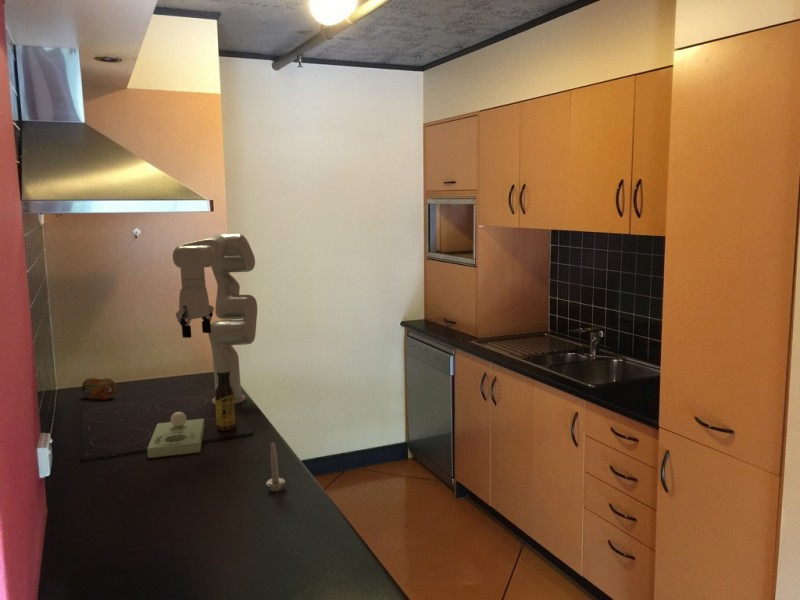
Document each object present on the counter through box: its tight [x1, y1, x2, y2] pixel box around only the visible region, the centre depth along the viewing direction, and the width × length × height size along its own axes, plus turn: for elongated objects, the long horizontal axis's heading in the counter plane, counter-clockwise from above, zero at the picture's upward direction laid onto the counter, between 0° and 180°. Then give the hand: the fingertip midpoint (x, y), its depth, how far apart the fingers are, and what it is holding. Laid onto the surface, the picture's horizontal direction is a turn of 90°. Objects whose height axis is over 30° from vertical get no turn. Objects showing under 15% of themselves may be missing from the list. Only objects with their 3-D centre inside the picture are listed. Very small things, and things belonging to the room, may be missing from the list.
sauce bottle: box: [214, 370, 236, 432], centre depth 220 cm, size 6×6×20 cm
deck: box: [146, 418, 206, 459], centre depth 210 cm, size 24×15×3 cm, turn 13°
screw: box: [265, 442, 286, 493], centre depth 170 cm, size 13×5×5 cm
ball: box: [169, 411, 187, 427], centre depth 215 cm, size 5×5×5 cm
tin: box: [81, 377, 117, 400], centre depth 263 cm, size 15×3×8 cm, turn 73°
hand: (197, 335), depth 218 cm, fingers open, 9 cm apart
